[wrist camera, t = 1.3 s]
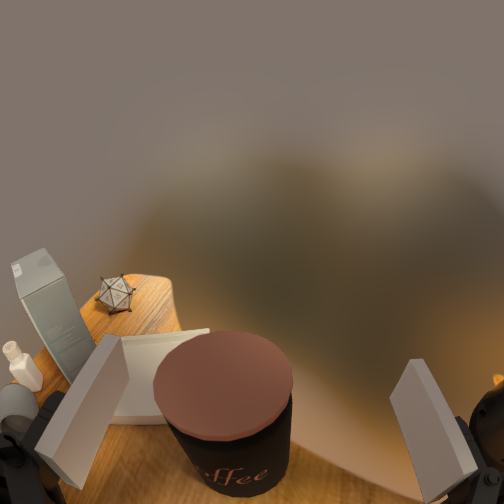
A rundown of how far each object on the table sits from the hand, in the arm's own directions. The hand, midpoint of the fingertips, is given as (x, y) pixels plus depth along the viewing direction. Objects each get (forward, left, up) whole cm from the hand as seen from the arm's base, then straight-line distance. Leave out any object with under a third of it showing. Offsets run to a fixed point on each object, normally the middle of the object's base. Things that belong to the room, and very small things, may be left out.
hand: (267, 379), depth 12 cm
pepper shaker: (+39, -20, -25) cm, 50 cm away
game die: (+25, -42, -25) cm, 55 cm away
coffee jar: (+3, -6, -25) cm, 26 cm away
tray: (+14, -22, -25) cm, 36 cm away
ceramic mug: (+37, -10, -25) cm, 46 cm away
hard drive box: (+30, -26, -25) cm, 47 cm away
